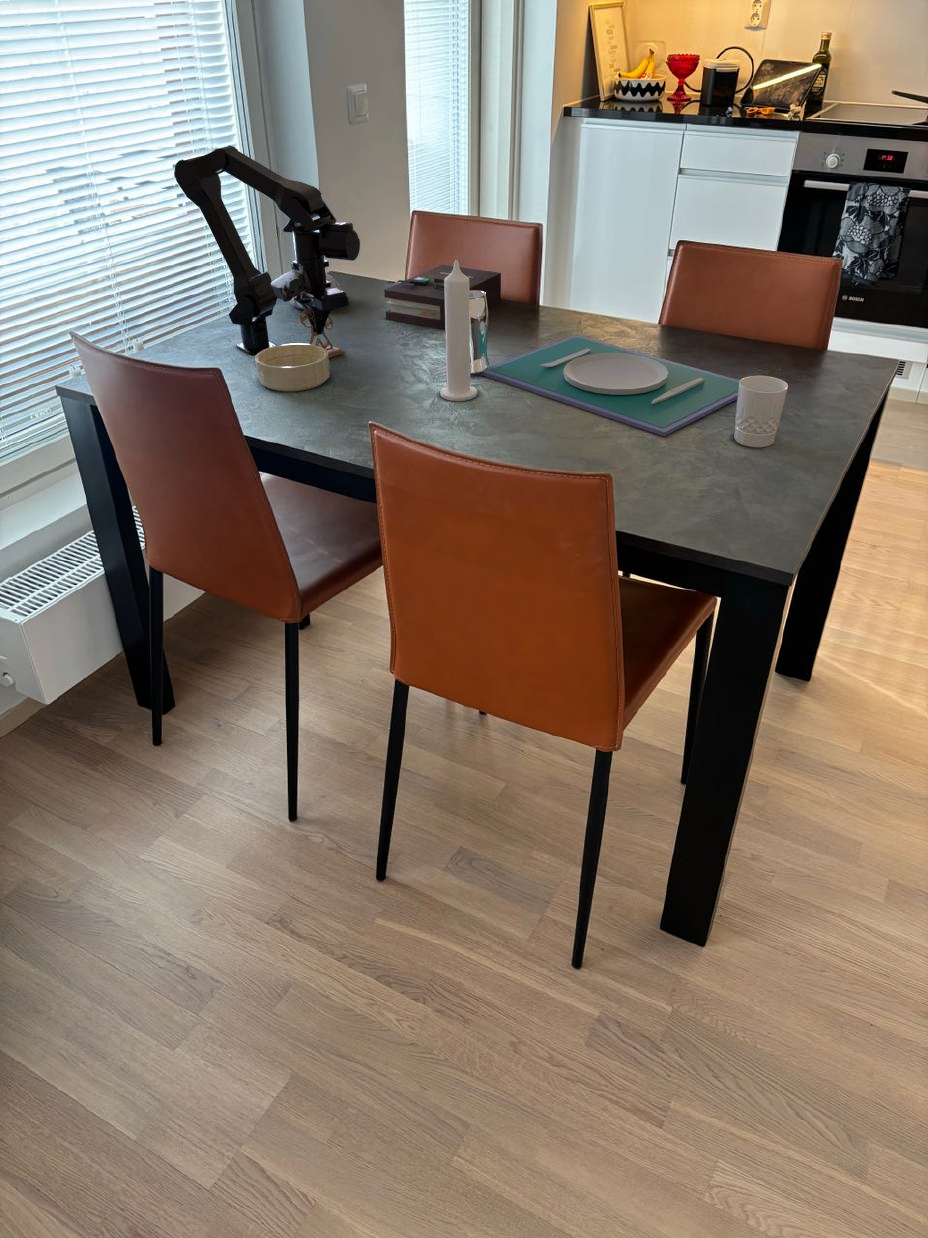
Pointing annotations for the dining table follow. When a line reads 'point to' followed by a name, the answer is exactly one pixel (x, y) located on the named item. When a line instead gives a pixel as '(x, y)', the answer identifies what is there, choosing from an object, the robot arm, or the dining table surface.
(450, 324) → the candle
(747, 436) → the white cup
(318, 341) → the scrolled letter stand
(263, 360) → the bowl
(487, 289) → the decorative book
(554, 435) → the dining table surface
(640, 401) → the place mat
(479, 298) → the beer glass
